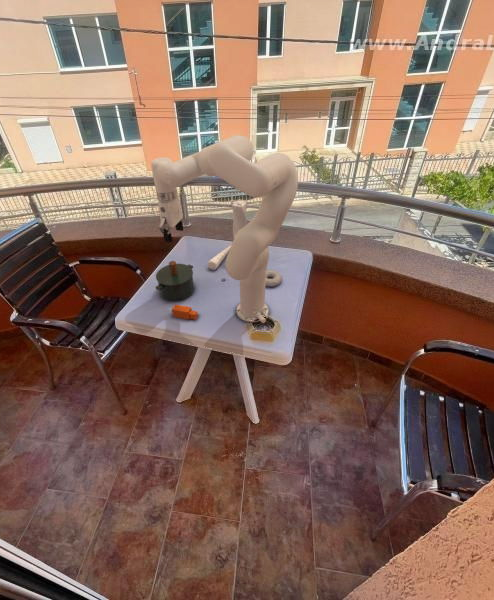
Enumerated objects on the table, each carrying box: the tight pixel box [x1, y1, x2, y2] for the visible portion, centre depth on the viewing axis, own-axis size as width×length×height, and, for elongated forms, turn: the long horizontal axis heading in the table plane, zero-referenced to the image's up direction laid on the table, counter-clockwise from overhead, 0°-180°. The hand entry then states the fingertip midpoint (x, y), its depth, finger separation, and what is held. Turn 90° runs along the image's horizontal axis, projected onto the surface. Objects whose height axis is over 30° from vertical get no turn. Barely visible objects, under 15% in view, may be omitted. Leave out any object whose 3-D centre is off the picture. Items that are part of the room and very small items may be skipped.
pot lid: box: [155, 260, 194, 286], centre depth 133 cm, size 16×16×7 cm
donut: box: [265, 269, 283, 288], centre depth 140 cm, size 10×4×10 cm
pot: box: [155, 264, 195, 302], centre depth 137 cm, size 15×20×8 cm
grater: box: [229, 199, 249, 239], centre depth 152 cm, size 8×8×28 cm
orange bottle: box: [171, 304, 199, 321], centre depth 126 cm, size 10×3×4 cm, turn 72°
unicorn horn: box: [207, 244, 232, 271], centre depth 157 cm, size 5×24×5 cm, turn 151°
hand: (174, 235), depth 128 cm, fingers open, 9 cm apart
